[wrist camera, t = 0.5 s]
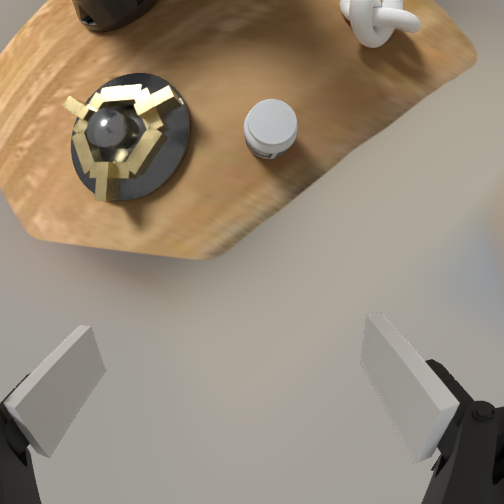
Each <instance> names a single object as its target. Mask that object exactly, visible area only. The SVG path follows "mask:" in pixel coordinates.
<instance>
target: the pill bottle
mask: <svg viewBox="0 0 504 504" xmlns="http://www.w3.org/2000/svg"><path fill="white" fill-rule="evenodd" d="M297 133H298V124H297V118H296V115H295V113H294V111H293V109H292V108H291V107H290V106H289V105H288V104H286V103H285V102H283V101H280V100H276V99H267V100H263V101H261V102H259V103H257V104H256V105H255V106H254V107H253V108H252V109H251V111H250V112H249V113H248V115H247V116H246V119H245V122H244V134H245V140H246V144H247V147H248V148H249V150H250V151H251V152H252V153H253V154H254V155H256V156H257V157H259V158H263V159H274V158H277V157H279V156H281V155H283V154H284V153H285V152H286V151H287V150H288V148H289V147H290V146H291V145H292V144H293V143H294V141H295V139H296V137H297Z"/></svg>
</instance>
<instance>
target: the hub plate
mask: <svg viewBox="0 0 504 504" xmlns="http://www.w3.org/2000/svg"><path fill="white" fill-rule="evenodd" d="M138 84H142V85H143V86H144V87H145V88H148V89H150V90H151V91H152V92H153V93H155V92H157V91H159V90H161V89H163V88H165V87H167V86H170V87H171V88H172V90H173V91H174V92H175V93H176V94H177V96H178V98H179V100H180V102H181V104H182V105H181V106H179V107H177V108H175V109H174V110H172V111H170V112H168V113H166V114H164V118H165V120H166V122H167V125H168V127H169V129H170V130H168V131H166V132H164V133H163V134H165V135H166V136H168V139H167V140H166V142H165V143H164V145H163V146H162V147H161V149H160V150H159V152H158V153H157V155H156V156H155V158H154V159H153V161H152V163H151V164H150V166H149V167H148V169H147V170H146V172H145V173H144V175H137V179H129V178H121V191H120V199H116V201H124V200H132V199H137V198H141V197H144V196H146V195H148V194H150V193H152V192H154V191H156V190H157V189H159V188H160V187H161V186H163V185H164V184H165V183H166V182H167V181H168V180H169V179H170V178H171V177H172V176H173V174H174V173H175V172H176V171H177V169H178V168H179V166H180V164H181V163H182V161H183V159H184V157H185V154H186V151H187V148H188V144H189V140H190V132H191V125H190V116H189V112H188V109H187V106H186V104H185V102H184V100H183V98H182V97H181V95H180V94H179V93H178V91H177V90H176V89H175V88H174V87H173V86H172V85H171V84H170V83H168V82H167V81H166V80H164V79H162V78H160V77H158V76H155V75H152V74H146V73H133V74H127V75H123V76H120V77H118V78H115V79H113V80H111V81H109V82H107V83H106V84H104V85H103V86H102V87H100V88H99V89H98V90H97V91H96V92H97V93H98V94H100V95H101V91H102V88H108V87H116V86H126V85H138ZM96 92H94V94H93V95H92V96H91V97H90V98H89V99H88V100H87V102H86V104H89V102H90V101H91V99H92V98H93V96H94V95H95V93H96ZM111 109H114V110H116V111H118V112H120V113H121V114H123V115H125V116H127V117H129V118H131V119H133V120H134V121H135V122H136V123H137V125H138V127H139V135H138V139H137V141H136V142H135V144H134V145H133V146H132V147H131V148H129V149H127V150H124V151H119V150H114V149H110V148H105V147H101V146H98V147H99V150H100V152H101V155H102V158H103V160H104V162H126V161H127V159H128V157H129V156H130V154H131V153H132V151H133V149H134V148H135V146H136V145H137V143H138V142H139V140H140V139H141V137H142V136H143V134H144V133H145V131H146V130H147V129H146V126H145V124H144V121H143V119H142V118H141V117H140V116H138V114H137V112H136V109H135V107H134V105H126V106H113V107H112V108H111ZM78 120H79V117H77V119H76V122H75V125H76V124H77V122H78ZM75 125H74V127H75ZM73 129H74V128H73ZM75 134H76V132H75V131H74V130H73V133H72V136H74V135H75ZM71 154H72V160H73V165H74V167H75V170H76V173H77V174H78V176H79V178H80V180H81V181H82V182H83V184H84V185H85V186H86V187H87V188H88V189H89V190H91V191H92V192H93V193H95V188H96V178H89V177H90V174H84V171H83V168H82V166H81V163H80V160H79V157H78V154H77V151H76V148H75V145H74V142H73V139H71Z"/></svg>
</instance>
